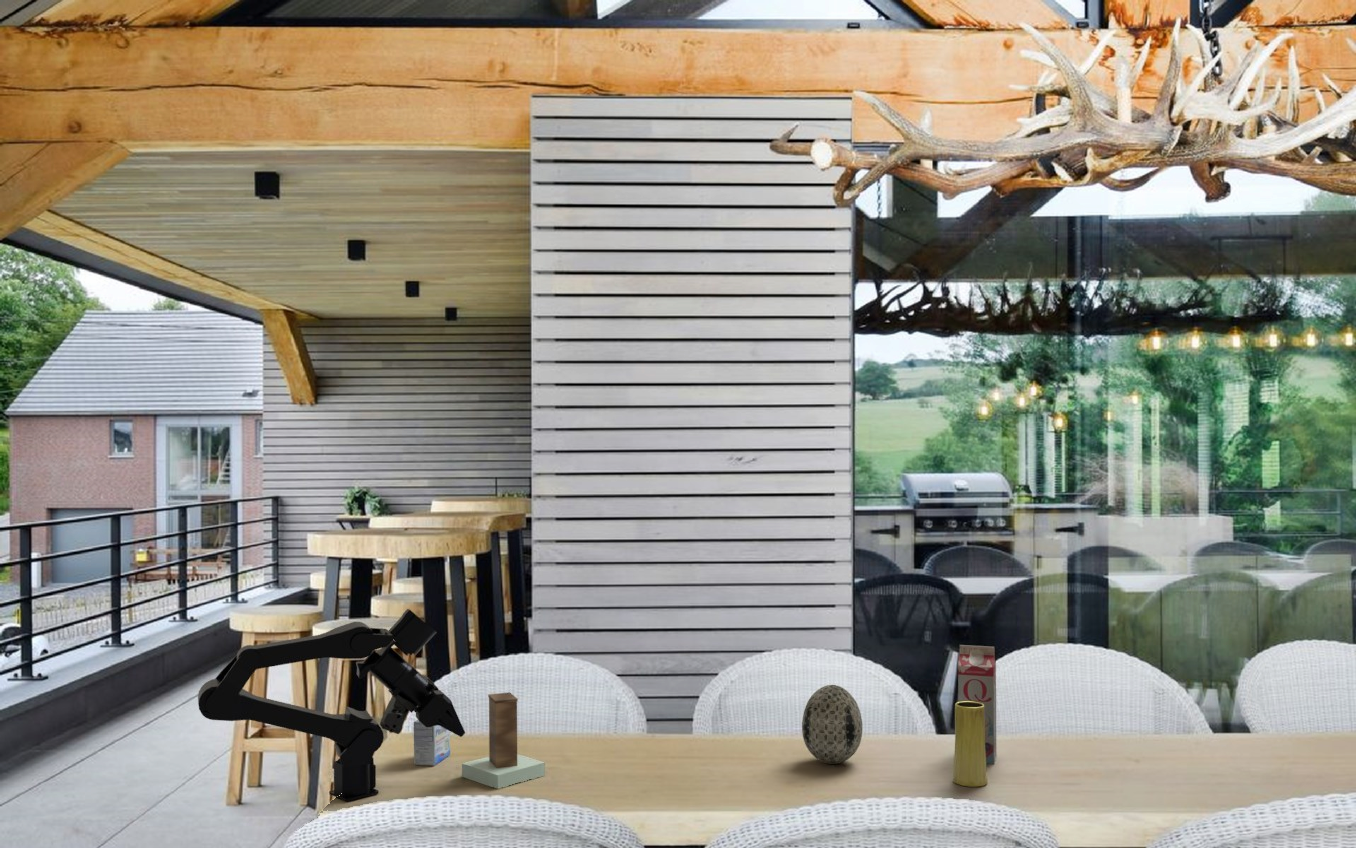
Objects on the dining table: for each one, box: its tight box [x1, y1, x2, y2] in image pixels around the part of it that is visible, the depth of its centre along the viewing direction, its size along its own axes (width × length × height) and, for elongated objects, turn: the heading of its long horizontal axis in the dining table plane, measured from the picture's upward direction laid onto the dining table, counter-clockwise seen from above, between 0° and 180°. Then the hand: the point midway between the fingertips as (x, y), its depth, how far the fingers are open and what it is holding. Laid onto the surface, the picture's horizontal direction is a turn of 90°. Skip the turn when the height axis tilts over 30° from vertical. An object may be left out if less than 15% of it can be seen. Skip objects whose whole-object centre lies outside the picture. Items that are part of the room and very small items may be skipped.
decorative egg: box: [801, 684, 864, 765], centre depth 227 cm, size 12×12×15 cm
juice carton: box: [957, 644, 997, 765], centre depth 230 cm, size 7×7×22 cm
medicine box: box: [413, 719, 451, 767], centre depth 231 cm, size 8×4×9 cm, turn 168°
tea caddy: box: [487, 692, 519, 768], centre depth 220 cm, size 4×6×12 cm
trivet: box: [461, 753, 546, 790], centre depth 220 cm, size 11×11×2 cm
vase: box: [952, 701, 988, 788], centre depth 214 cm, size 6×6×14 cm
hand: (457, 729), depth 217 cm, fingers open, 9 cm apart
